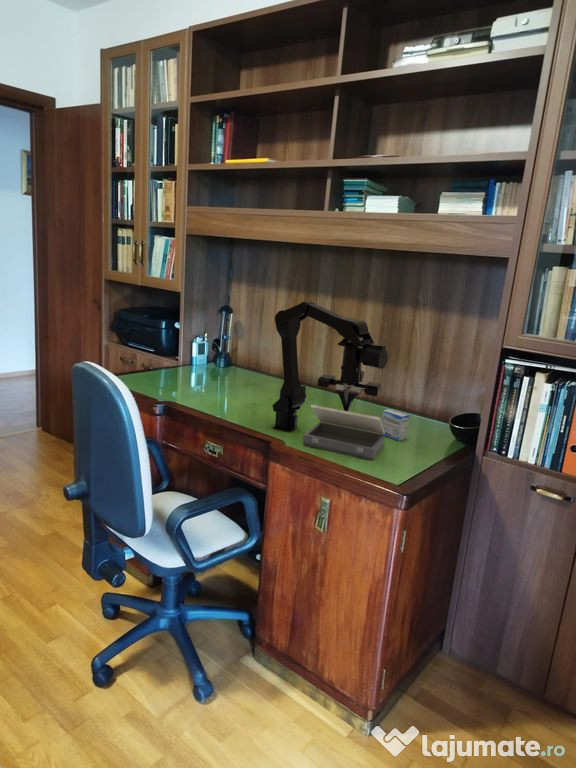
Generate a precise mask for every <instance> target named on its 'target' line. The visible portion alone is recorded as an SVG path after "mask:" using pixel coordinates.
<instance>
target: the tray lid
mask: <svg viewBox="0 0 576 768" xmlns="http://www.w3.org/2000/svg"><path fill="white" fill-rule="evenodd" d="M310 408H311V410H312V411H313V413H314V414H315V416H316V417H317V418H318V421H319V422H323V423H328V424H333V425H338V426H343V427H348V428H353V429H358V430H363V431H368V432H373V433H378V434H385V431H384V428H383V425H382V418H381V416H374V415H370V414H363V413H359V412H353V411H350V410H349V411H344V409H343V410H342V409H336V408H332V407H328V406H327V407H326V406H321V405H315V404H311V405H310Z"/></svg>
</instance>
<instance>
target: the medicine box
mask: <svg viewBox="0 0 576 768" xmlns="http://www.w3.org/2000/svg"><path fill="white" fill-rule="evenodd" d="M381 417H382V418H381V422H382V425H383V428H384V431H385V434H383V435H385V437H386V438H387V439H388V438H389V439H392V440H394V441H397V442H401V441H404V440H406V439H407V433H408V429H409V427H408V426H409V421H410V414H406V413H404V412H400V411H397V410H394V409H391V408H388V409H385V410H382V415H381Z"/></svg>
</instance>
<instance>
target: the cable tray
mask: <svg viewBox="0 0 576 768" xmlns="http://www.w3.org/2000/svg"><path fill="white" fill-rule="evenodd" d="M303 445H304V446H303ZM384 445H385V435H383V434H379V433H374V432H369V431H364V430H359V429H354V428H349V427H344V426H339V425H334V424H329V423H324V422H320V421H319V422H318V423H317V424H315V425H314V426H313V427H312V428H311V429H309V430H307V432H305V433H304V434H303V443H302V446H303V447H308V446H309V448H312V447H314V449H317V448H320V449H319V450H322V449H324V450H323V451H326V450H328V451H327V452H331V451H333V452H332V453H335V452H336V454H340V455H344V456H345V455H346V456H349V457H354V458H358V459H364V460H368V461H374V459H376V457H377V455H378V454H379V452H380V451H381V450H382V448H383V447H384Z"/></svg>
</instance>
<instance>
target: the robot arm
mask: <svg viewBox="0 0 576 768" xmlns="http://www.w3.org/2000/svg"><path fill="white" fill-rule="evenodd" d="M308 317H309V318H311V319H313V320H315V321H317V322H320V323H321V324H324V325H326V326H328V327H330V328H332V329H333V330H335V331H336V332H337V334H339V336H340V337H342V338H343V339H342V340H341V341H339V342H338V343H337V346H340V347H343V353H342V362H341V363H342V364H341V366H340V370H341V371H340V378H339V379H336V376H335V375H331V374H323V375H321V376H319V377H318V378H317V384H316V386H317V387H320V388H328V387H329V386H330V385H331V386H335V390H334V393H337V395H338V396H339V399H340V401H341V404H342V407H343V411H349V412H350V408H351V406H352V405H353V402H354V400H355V398H356V397H357V396H360V395H361V394H362V393H363V392H364V394H365V395H367V396H370V397H371V396H372V397H378V396H379V395H380V394H381V393H382V388H383V387H382V385H381V383H378V382H372V381H368V382H367V383H363V381H364V377H365V371H363V370H362V369H363V368H362V365H364V366H365V367H370V368H375V369H379V370H383V369H384V368H385V367H386V366H387V363H388V360H389V356H388V351H387V350H386V347H387V346H386V345H384V344H375V342H374V339H373V338H372V335H371V334H370V330H369V327H368V323H367V322H366V321H364V320H362V319H357V318H353V317H346V316H343V315H340V314H338V313H336V312H334V311H331V310H330V309H328V308H325V307H322V306H321V305H318V304H316V303H315V302H314V301H310V300H309V301H301V302H300V303H298V304H297V305H294V306H292V307H289V308H288V309H287V308H286V309H283V310H282V309H280V310H279V311H277V313H276V314H275V315H274V323H275V328H276V331H277V333H278V335H279V337H280V338H281V355H282V356H281V357H282V371H283V372H282V373H283V375H282V376H283V383H282V386H281V388H280V390H279V391H280V392H279V398H278V400H276V402H274V403H273V404H272V410H273V412H275V422H274V423H275V424H274V425H273V426H272V428H273V429H275V430H279V431H283V432H284V431H285V432H289V433H291V432H292V431H294V430H295V429H297V427H298V416H299V415H298V414H297V413H298V412H297V411H299V410H300V409H301V407H302V406H303V404H304V403H305V401H306V399H307V394H306V390H307V388H306V385H302V384H301V382H300V378H299V363H298V362H299V361H298V360H299V358H298V340H297V336H298V335H299V332H300V330H301V324H302V323H301V322H302V321H304V320H306V319H307V318H308ZM349 390H350V391H349Z"/></svg>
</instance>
